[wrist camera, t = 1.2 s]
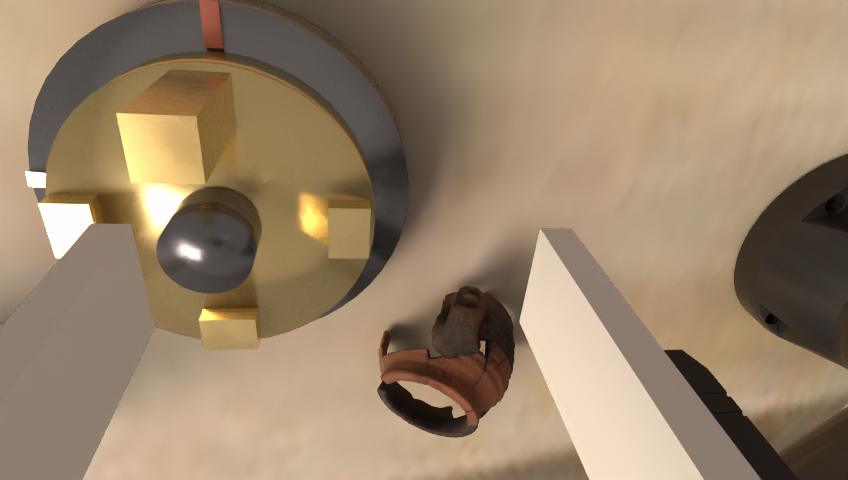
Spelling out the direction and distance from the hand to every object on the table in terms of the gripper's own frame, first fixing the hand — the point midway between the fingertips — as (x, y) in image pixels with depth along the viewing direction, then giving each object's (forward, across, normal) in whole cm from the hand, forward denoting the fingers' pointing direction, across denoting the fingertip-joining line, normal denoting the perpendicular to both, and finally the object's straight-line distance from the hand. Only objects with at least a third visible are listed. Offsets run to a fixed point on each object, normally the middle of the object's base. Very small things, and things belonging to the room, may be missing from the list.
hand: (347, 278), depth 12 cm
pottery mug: (+20, -8, +18) cm, 27 cm away
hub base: (+19, +6, +6) cm, 21 cm away
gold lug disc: (+16, +6, +6) cm, 18 cm away
